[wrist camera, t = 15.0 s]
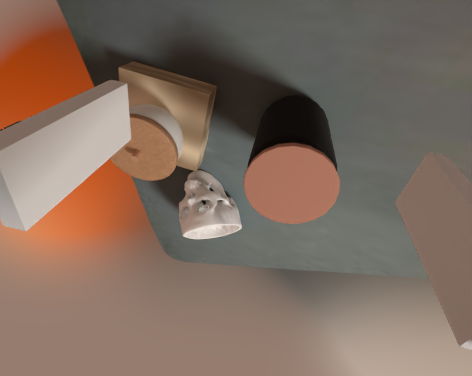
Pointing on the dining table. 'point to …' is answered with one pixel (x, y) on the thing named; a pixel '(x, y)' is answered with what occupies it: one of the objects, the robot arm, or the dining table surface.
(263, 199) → the coffee jar
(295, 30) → the dining table surface
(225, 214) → the skull bowl
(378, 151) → the dining table surface
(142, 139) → the lidded jar
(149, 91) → the beech block
